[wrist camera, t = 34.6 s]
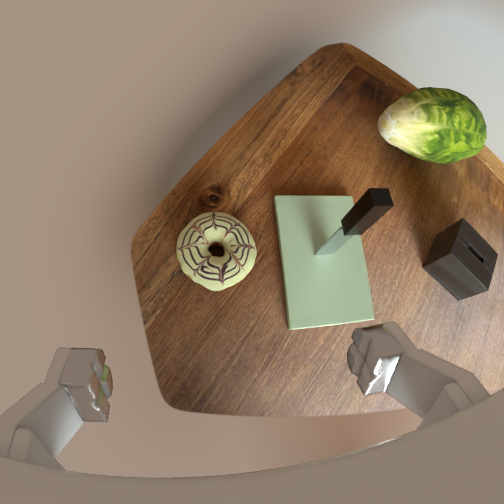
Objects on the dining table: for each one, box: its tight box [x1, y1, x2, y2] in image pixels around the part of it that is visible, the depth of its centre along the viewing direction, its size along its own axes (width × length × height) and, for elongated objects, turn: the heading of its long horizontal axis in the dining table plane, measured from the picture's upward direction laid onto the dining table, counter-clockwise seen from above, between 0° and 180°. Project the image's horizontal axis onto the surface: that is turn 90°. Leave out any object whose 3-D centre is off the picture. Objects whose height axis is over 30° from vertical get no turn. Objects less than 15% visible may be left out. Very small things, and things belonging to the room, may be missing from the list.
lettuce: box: [378, 87, 486, 164], centre depth 51 cm, size 15×27×16 cm, turn 105°
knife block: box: [423, 218, 498, 301], centre depth 47 cm, size 8×10×8 cm
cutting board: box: [273, 196, 374, 330], centre depth 47 cm, size 20×13×1 cm, turn 5°
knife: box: [315, 188, 394, 255], centre depth 38 cm, size 2×3×18 cm, turn 97°
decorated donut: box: [176, 212, 257, 291], centre depth 44 cm, size 10×11×4 cm
